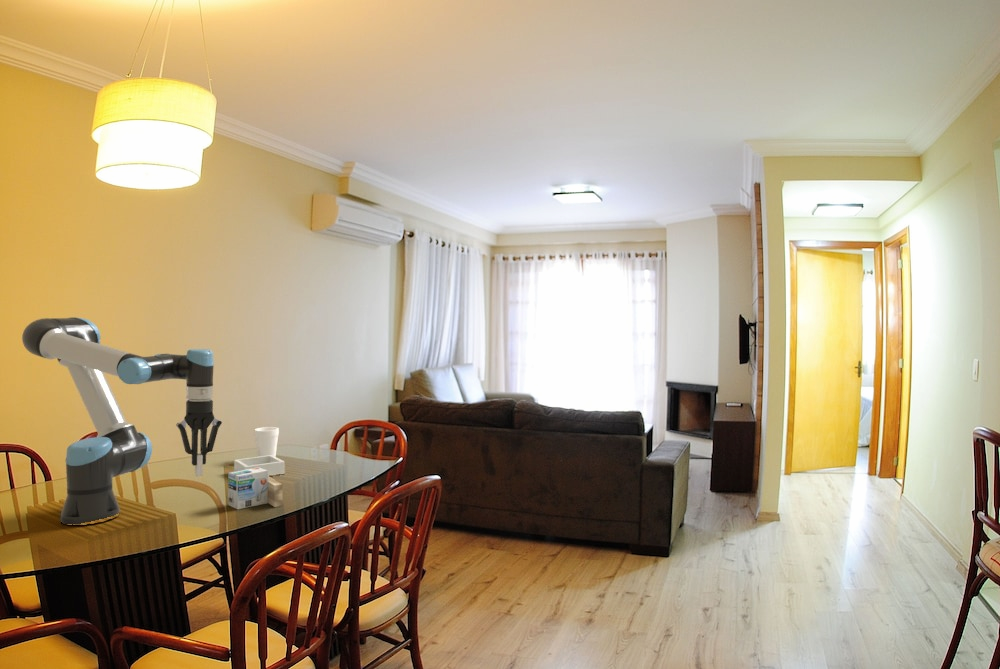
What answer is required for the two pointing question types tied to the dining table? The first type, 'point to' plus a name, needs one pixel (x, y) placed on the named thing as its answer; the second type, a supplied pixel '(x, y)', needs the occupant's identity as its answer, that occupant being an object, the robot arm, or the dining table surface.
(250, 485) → the light bulb box
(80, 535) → the dining table surface
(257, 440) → the foam cup
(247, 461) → the frame
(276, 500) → the board
